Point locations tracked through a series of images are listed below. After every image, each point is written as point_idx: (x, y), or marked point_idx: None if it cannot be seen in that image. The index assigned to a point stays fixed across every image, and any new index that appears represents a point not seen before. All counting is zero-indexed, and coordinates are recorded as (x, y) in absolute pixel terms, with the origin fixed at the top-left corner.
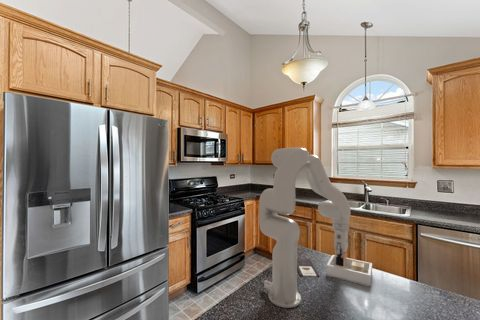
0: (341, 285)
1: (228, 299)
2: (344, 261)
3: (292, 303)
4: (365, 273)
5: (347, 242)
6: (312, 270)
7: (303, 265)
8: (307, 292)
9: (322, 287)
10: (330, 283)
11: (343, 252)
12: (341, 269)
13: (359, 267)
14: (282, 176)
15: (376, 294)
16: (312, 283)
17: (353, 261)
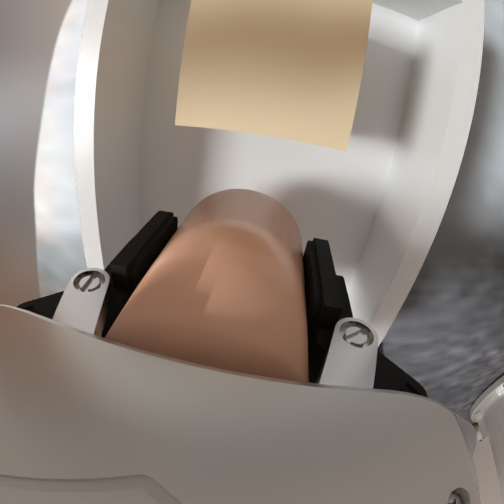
0: (466, 224)
1: (482, 440)
2: (290, 247)
3: None
4: (469, 25)
5: (7, 492)
6: None
7: None
8: (501, 354)
9: (481, 316)
10: (448, 285)
11: (303, 376)
12: (415, 260)
13: (365, 45)
14: None
15: (500, 24)
16: (446, 355)
17: (188, 112)
